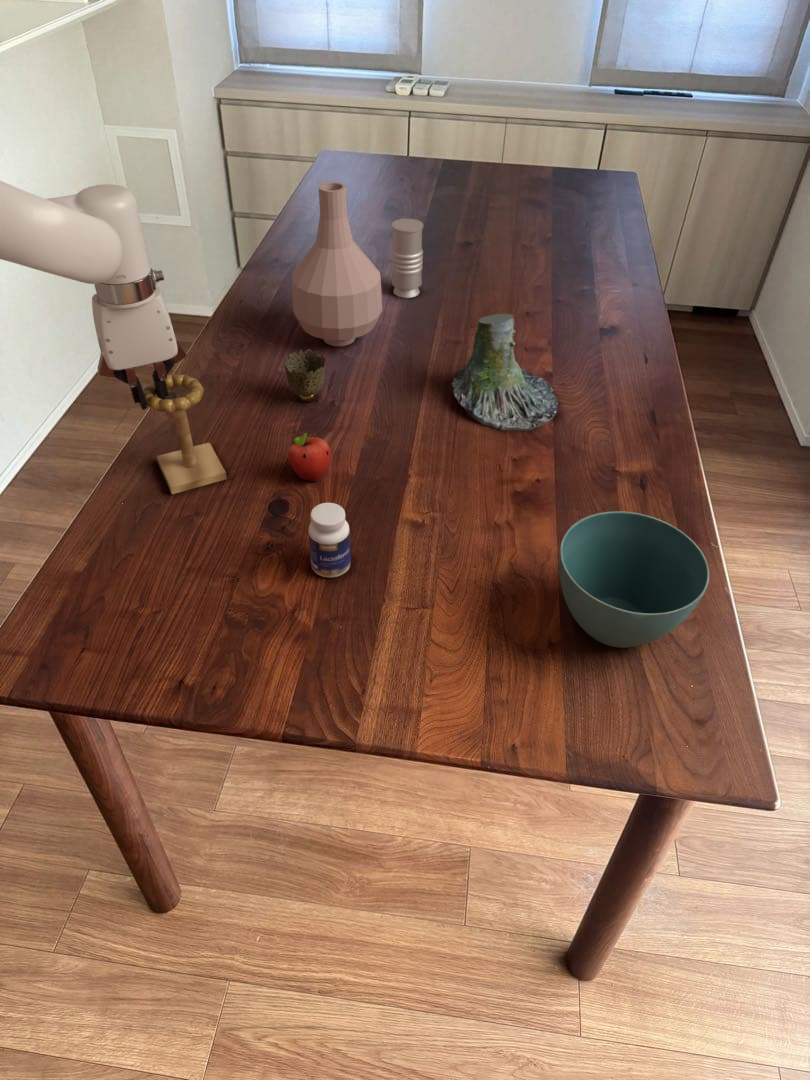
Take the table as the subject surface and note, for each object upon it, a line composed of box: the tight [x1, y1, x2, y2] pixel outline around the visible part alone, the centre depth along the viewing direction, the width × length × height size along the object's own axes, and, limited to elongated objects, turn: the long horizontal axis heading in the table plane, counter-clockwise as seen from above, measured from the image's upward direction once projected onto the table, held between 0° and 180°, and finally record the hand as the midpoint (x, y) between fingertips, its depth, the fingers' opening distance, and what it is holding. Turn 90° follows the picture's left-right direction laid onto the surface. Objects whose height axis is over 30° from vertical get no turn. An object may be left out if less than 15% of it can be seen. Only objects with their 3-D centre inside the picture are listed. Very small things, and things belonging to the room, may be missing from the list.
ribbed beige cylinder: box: [390, 218, 424, 299], centre depth 173 cm, size 7×7×15 cm
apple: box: [287, 432, 332, 482], centre depth 125 cm, size 8×7×10 cm
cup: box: [282, 349, 327, 403], centre depth 143 cm, size 8×7×8 cm
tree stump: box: [451, 313, 559, 431], centre depth 142 cm, size 18×20×18 cm
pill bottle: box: [307, 502, 352, 579], centre depth 111 cm, size 6×6×10 cm
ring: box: [143, 374, 205, 413], centre depth 119 cm, size 9×9×2 cm
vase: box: [291, 181, 383, 347], centre depth 152 cm, size 18×18×30 cm
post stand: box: [155, 397, 228, 495], centre depth 125 cm, size 9×9×14 cm
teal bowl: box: [558, 510, 710, 649], centre depth 103 cm, size 18×18×12 cm
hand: (152, 401), depth 118 cm, fingers closed on ring, 2 cm apart
